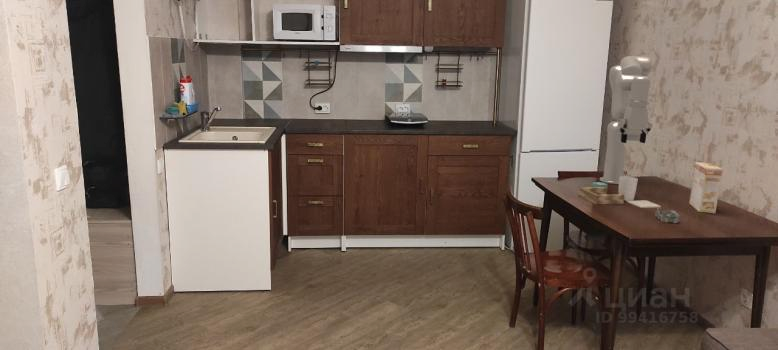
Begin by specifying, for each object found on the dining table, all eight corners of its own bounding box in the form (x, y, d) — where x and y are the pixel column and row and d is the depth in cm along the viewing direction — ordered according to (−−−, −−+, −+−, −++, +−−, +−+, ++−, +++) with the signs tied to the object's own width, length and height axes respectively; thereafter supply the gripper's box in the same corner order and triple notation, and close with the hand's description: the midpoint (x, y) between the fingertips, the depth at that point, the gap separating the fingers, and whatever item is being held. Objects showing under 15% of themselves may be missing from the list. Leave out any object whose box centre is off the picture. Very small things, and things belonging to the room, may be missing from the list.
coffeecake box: (716, 213, 257) (723, 169, 253) (698, 212, 258) (705, 168, 254) (705, 204, 271) (712, 162, 267) (688, 203, 272) (695, 161, 268)
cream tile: (646, 201, 272) (646, 200, 272) (660, 207, 263) (660, 206, 263) (626, 202, 270) (627, 200, 270) (641, 208, 260) (641, 206, 260)
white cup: (632, 197, 279) (634, 176, 277) (637, 201, 271) (640, 180, 269) (614, 196, 279) (617, 175, 277) (619, 200, 272) (622, 179, 270)
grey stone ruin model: (653, 215, 250) (654, 206, 249) (672, 217, 249) (674, 207, 248) (660, 222, 240) (661, 212, 239) (680, 224, 239) (681, 214, 238)
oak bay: (604, 195, 281) (605, 187, 280) (623, 203, 267) (624, 194, 266) (578, 196, 277) (579, 187, 276) (596, 204, 264) (597, 195, 263)
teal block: (598, 192, 287) (599, 181, 286) (606, 194, 283) (607, 184, 282) (590, 192, 285) (592, 182, 284) (599, 195, 281) (600, 185, 280)
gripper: (649, 104, 272) (644, 141, 275) (615, 103, 267) (611, 141, 271) (660, 105, 265) (654, 144, 268) (626, 105, 260) (621, 143, 264)
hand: (632, 142), depth 270 cm, fingers open, 9 cm apart
